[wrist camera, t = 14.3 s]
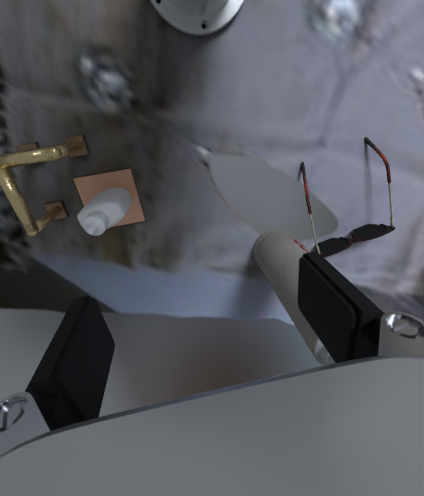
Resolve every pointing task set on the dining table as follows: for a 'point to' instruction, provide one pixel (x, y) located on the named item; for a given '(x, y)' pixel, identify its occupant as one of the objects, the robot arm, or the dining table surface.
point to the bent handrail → (30, 156)
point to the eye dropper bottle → (104, 210)
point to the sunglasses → (358, 234)
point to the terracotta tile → (103, 181)
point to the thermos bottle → (288, 281)
